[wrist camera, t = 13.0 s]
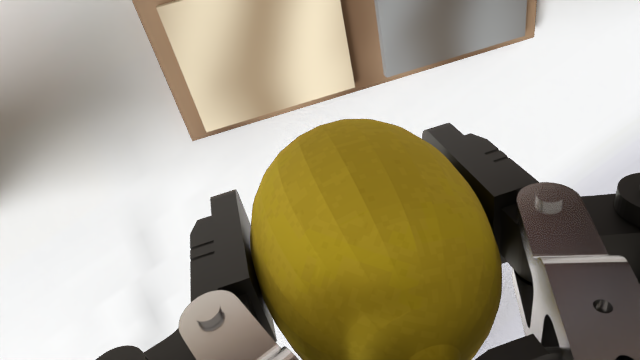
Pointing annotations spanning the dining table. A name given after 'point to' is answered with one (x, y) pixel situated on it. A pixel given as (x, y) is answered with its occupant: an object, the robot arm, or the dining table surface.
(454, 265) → the lemon
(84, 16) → the dining table surface
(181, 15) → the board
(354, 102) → the dining table surface
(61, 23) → the dining table surface
